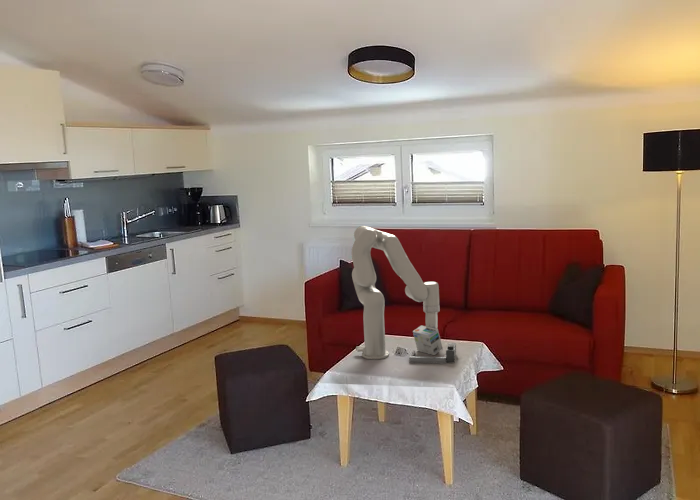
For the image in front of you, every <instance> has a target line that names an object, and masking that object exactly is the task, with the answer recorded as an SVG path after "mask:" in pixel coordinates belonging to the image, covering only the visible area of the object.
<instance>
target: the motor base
mask: <svg viewBox="0 0 700 500" xmlns="http://www.w3.org/2000/svg"><path fill="white" fill-rule="evenodd" d="M445 349H446V350H445V352H444V356H442V357H441V356H415V355H416V350H415V349H414V350H412V352H411V354H410V355H409V357H408V360H409V361H408V363H410V364H413V363H414V364H442V365H443V364H444V365H445V364H447V363H451V364H452V363H455V361H456V357H457V343H456V342H448V343H447V345H446V348H445Z"/></svg>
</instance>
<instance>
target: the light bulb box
mask: <svg viewBox="0 0 700 500" xmlns="http://www.w3.org/2000/svg"><path fill="white" fill-rule="evenodd" d="M412 333H413V334H412V335H413V338H414V341H415V342H414V343H415V345H416V350H417V352H419V353H420V352H421V353H424V354H428V355H431V356H435V355H436V354H438V353H439V352H440V351H442V350H443V349H444V347H443V343H442V341H441V336H440V333H439V329H438V328H437V329H436V328H431V327H426V325H419V326H418V327H417V328H415V329H414V330H412Z"/></svg>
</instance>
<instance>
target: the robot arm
mask: <svg viewBox="0 0 700 500" xmlns="http://www.w3.org/2000/svg"><path fill="white" fill-rule="evenodd" d="M353 238H354V241H353V243H352V246H351V259H352V263H353V264H352V265H353V269H352V272H351V277H352V282H353V286H354V289H355V293H356V295H357V298H358V301H359V302H360V303H361V304H362V306H363V313H362V314H363V317H362V318H363V320H362V321H363V336H364V337H363V338H364V345H362V346H360V345H359V346H357V345H356V347H355V351H357V352H358V353H359V352H360V353H361V352H362V353H361V357H362V358H364V359H366V360H382V359H385V358H388V357H389V356H390V353H389V351H388V350H386V335H385V334H386V332H385V331H386V330H385V301H386V300H385V297H384V294H383V293H382V292H381V291H380V290H379V289H377V288H376V282H377V274H376V271H375V267H374V264H373V260H372V256H371V255H372V254H371V251H372V248H374V249H377V250H381V251H383V253H384V255H385V256H386V258H387V260H388V262H389V264H390V266H391V268H392V270H393V272H395V274H396V275H397V276H398V277H400V279H401V280H402V281H403V283H404V284H405V285H406V286H405V288H404V292H405V295H406V297H408V298H409V299H412V300H413V301H415V302H418V303H422V302H423V303H422V305H423V306H422V307H423V312H424V313H425V326H426V327H431V328H436V329H438V313H439V312H441V311H440V310H441V309H440V289H439V288H440V286H439V283H438V282H436V281H423V280H422V278H421V276H420V274H419V273H418V272H417V270H416V268H415V267H414V265H413V263H412V262H411V261H410V259H409V257H408V255H407V253H406V252H405V250H404V248H403V246H402V243H401V242H400V240H399V238H398V237H397V236H396V235H394V234H391V233H388V232H385V231H381V230H378V229H375V228H372V227H370V226H367V225H361V226H358V227H356V228H355V230H354V233H353Z"/></svg>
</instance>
